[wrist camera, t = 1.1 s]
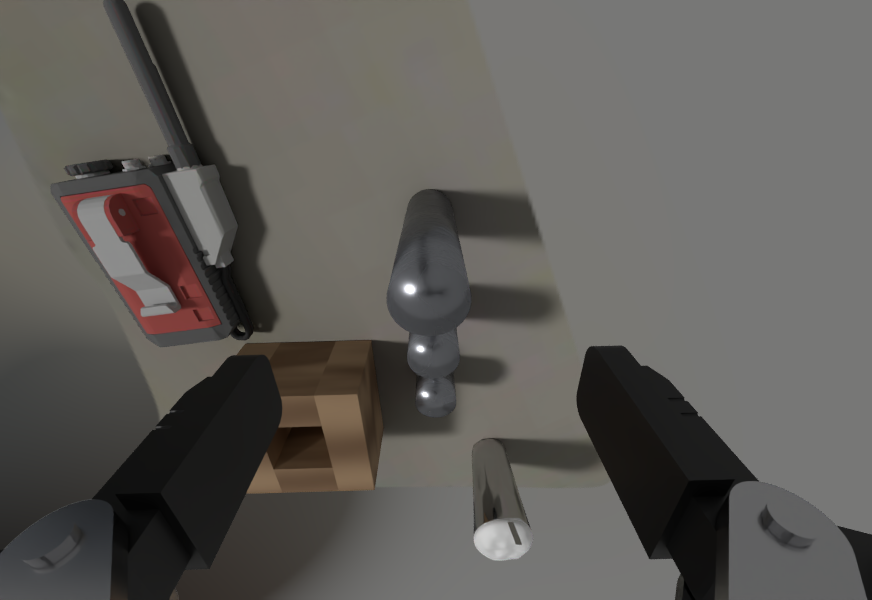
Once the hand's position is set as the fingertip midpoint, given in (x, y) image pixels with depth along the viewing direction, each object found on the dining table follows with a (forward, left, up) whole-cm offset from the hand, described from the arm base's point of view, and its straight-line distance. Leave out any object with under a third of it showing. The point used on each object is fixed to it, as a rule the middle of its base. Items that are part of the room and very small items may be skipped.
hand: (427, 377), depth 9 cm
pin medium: (+6, 0, -16) cm, 17 cm away
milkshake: (+23, +5, -16) cm, 28 cm away
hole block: (+15, -10, -16) cm, 24 cm away
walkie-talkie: (-1, -17, -17) cm, 24 cm away
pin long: (0, 0, -16) cm, 16 cm away
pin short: (+13, 0, -16) cm, 21 cm away
